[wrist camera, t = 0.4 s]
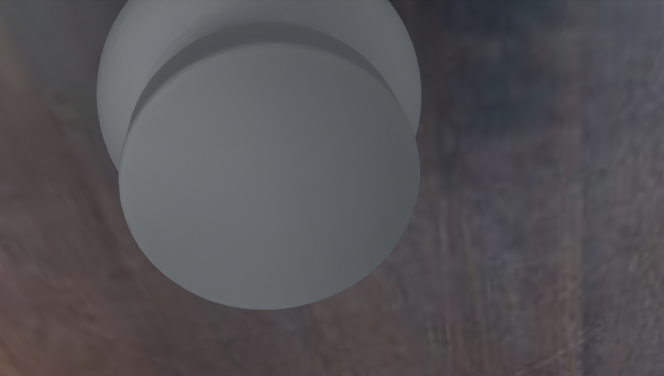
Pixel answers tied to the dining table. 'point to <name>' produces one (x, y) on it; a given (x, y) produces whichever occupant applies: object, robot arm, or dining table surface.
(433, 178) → the dining table surface
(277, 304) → the supplement bottle
